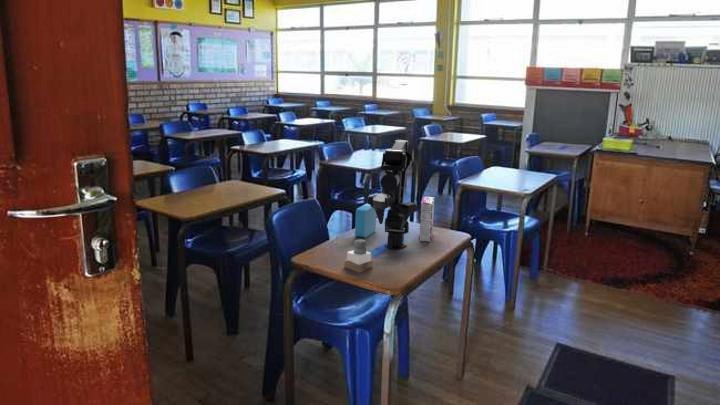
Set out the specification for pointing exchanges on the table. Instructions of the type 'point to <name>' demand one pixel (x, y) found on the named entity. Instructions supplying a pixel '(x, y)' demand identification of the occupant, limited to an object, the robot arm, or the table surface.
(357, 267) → the bottom block
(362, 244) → the spool
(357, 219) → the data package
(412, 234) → the table surface
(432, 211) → the candy bar box
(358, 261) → the top block
